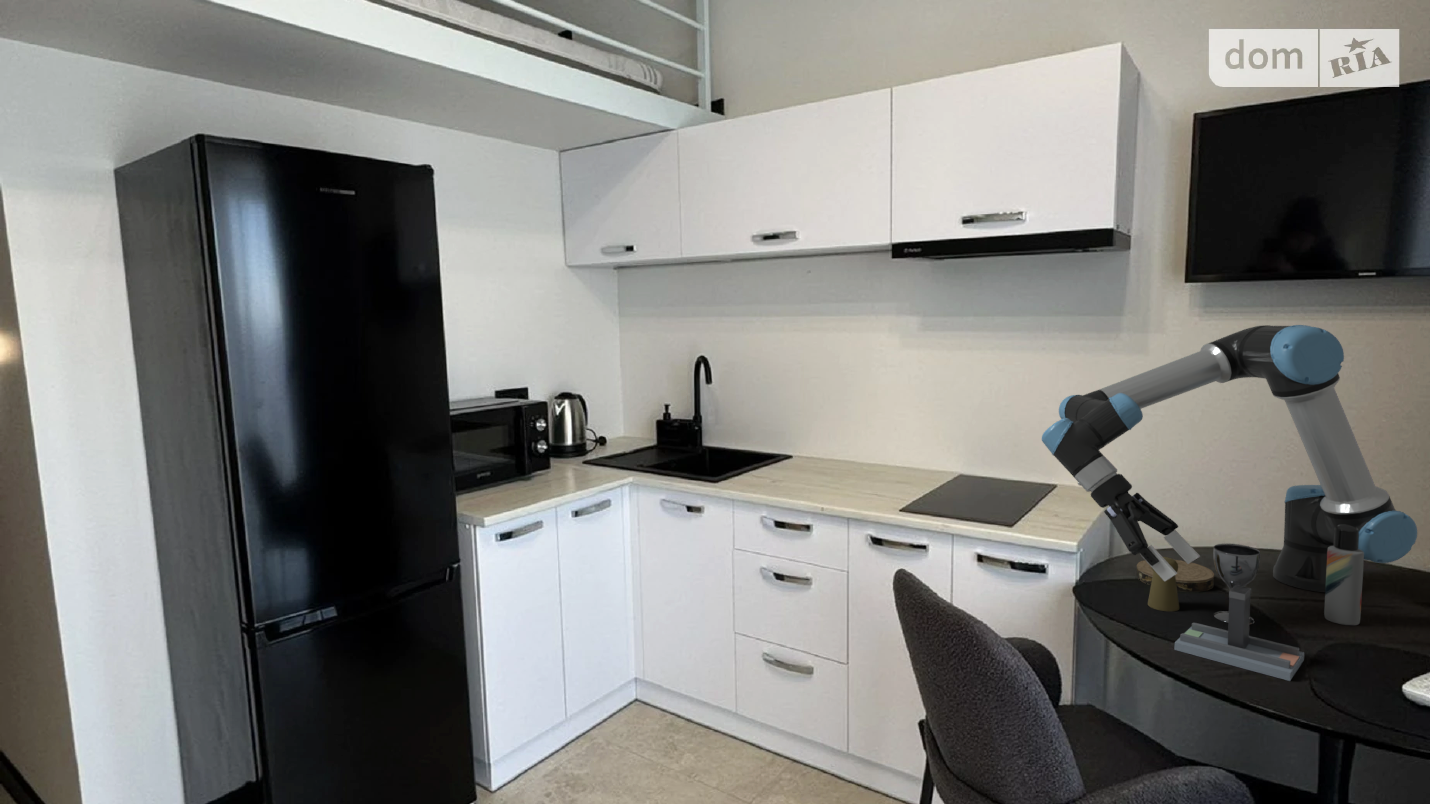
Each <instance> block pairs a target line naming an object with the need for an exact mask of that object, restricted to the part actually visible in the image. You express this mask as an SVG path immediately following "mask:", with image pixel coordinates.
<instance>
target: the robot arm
mask: <svg viewBox="0 0 1430 804" xmlns="http://www.w3.org/2000/svg"><path fill="white" fill-rule="evenodd" d="M1344 359H1345V353H1344V348H1343V346H1342V343H1340V341H1339V339H1338V338H1337V337H1336V335H1334V334H1333V333H1331V332H1330V331H1328V330H1326V329H1323V328H1321V327H1318V326H1317V327H1316V326H1311V325H1304V324H1295V325H1271V324H1269V325H1256V326H1252V327H1248V328H1245V329H1242V330H1240V331H1236V332H1233V333H1231V334H1229V335H1226V336H1224V337H1221V338H1219V339H1216V340H1214V341H1210V342H1207V343H1205V344H1204V345H1202V347H1201V348H1200V350H1199V351H1197V352H1195V353H1192V354H1189V355H1187V356H1184V357H1181V358H1179V359H1176V360H1173V361H1170V362H1167V363H1165V364H1162V365H1160V366H1158V367H1155V368H1152V369H1150V370H1147V371H1144V372H1142V373H1139V374H1137V375H1134V376H1131V377H1128V378H1126V379H1123V380H1120V381H1118V382H1116V383H1113V384H1110V385H1107V386H1105V387H1102V388H1099V389H1096V390H1094V391H1091V392H1089V393H1086V394H1071V395H1068V396H1067V397H1065V398H1063V400H1062V401H1061V402H1060V405H1059V407H1058V416H1059V417H1060V420H1058V421H1056V422H1055V423H1053V424H1052V425H1050V426H1049V427H1047V429H1046V430H1045V431H1044V432H1043V433H1042V435H1041V441H1042V443H1043V445H1044V446H1045V447H1046V448H1047V449H1048V451H1049V452H1050V453H1051V455H1052V456H1053V457H1054V458H1056V460H1057V461H1058V462H1059V463H1060V464H1061V465H1062V466H1063V467H1064V468H1065V469H1066V470H1067V471H1068V472H1069V474H1070V475H1072V478H1074V479H1075V481H1077V485H1078V486H1081V487H1082V488H1083V489H1084V490H1085V491H1086V493H1087V492H1088V493H1090V492H1091V493H1090V497H1091V498H1092V499H1093V501H1095V503H1096V504H1097V505H1098V506H1099V507H1100V508H1102V509H1103V508H1106V509H1104V510H1103V512H1104V514H1105V515H1106V516H1107V518H1108V519H1109V520H1110V521H1111V523H1112V525H1113V527H1114V529H1115V530H1116V531H1117V533H1118V535H1119V537H1120V539H1121V540H1122V542H1123V543H1124V545H1125V547H1126V548H1127V550H1128V552H1129V553H1131V554H1132V556H1136V555H1138V554H1139V555H1140V557H1142V559H1143V560H1146V562H1147V563H1148V564H1149V565H1150V566H1151V567H1152V568H1153V569H1154V570H1155V572H1156V573H1157V574H1158V575H1159V576H1160V577H1161V578H1162V579H1163V580H1164V581H1166V580H1168V579H1170V578H1171V577H1173V576H1174V575H1176V574H1177V572H1176V571H1175V570H1174V569H1173V568H1172V567H1171V566H1170V565H1169V563H1168V562H1167V561H1166V560H1165V559H1164V558H1163V557H1164V556H1162V554H1160V553H1159V551H1158V550H1157V549H1156V548H1155V547H1154V546H1153V545H1152V544H1151V545H1149V544H1148V541H1147V540H1146V536H1145V535H1144V532H1143V531H1142V529H1141V526H1140V523H1139V522H1141V523H1142V524H1144V525H1146V526H1148V527H1149V528H1151V529H1153V530H1155V531H1156V532H1159V534H1161V535H1163V536H1164V537H1163V539H1164V541H1166V542H1167V543H1168V544H1169V546H1171V547H1172V549H1173V550H1174V551H1175V552H1176V553H1177V554H1178V555H1179V556H1180V557H1181V558H1182V559H1183V561H1186V563H1187V564H1189V563H1193V562H1194V561H1195V560H1196V559H1198V558H1200V557H1201V555H1200V554H1199V553H1198V552H1197V551H1196V550H1195V549H1194V548H1193V546H1192V545H1190V543H1188V541H1186V539H1185V538H1184V537H1183V536H1182V535H1181V534H1180V533H1179V532H1178V531H1177V529H1178V528H1179V525H1178V523H1177V522H1175V521H1174V520H1173V519H1171V518H1170V517H1169V516H1168V515H1166V514H1165V513H1164V512H1162V511H1161V510H1160V509H1158V508H1157V507H1155V506H1154V505H1153V504H1152V503H1150V502H1149V501H1147V500H1146V499H1145V498H1144V497H1143V496H1142V495H1141V494H1140V493H1139V492H1135V494H1133V495H1132V494H1130V493H1129V491H1131V490H1132V488H1133V486H1132V484H1131V483H1130V481H1129V480H1128V479H1127V478H1125V476H1124V475H1123V474H1121V473H1117V472H1118V469H1117V468H1116V466H1115V465H1114V464H1113V463H1112V462H1111V461H1110V460H1109V459H1108V458H1107V457H1106V456H1105V455H1104V454H1103V453H1102V452H1101V451H1100V450H1102V449H1103V448H1104V447H1106V446H1108V445H1109V444H1110V443H1112V442H1113V441H1115V440H1116V439H1118V438H1119V437H1120V436H1122V435H1124V434H1125V433H1127V432H1129V431H1131V430H1132V429H1133V428H1134V427H1136V425H1138V424H1139V423H1140V422H1141V421H1142V420H1143V418H1144V417H1143V415H1144V414H1143V411H1142V409H1145V408H1148V407H1149V406H1152V405H1156V404H1157V403H1160V402H1164V401H1167V400H1168V399H1171V398H1174V397H1176V396H1179V395H1182V394H1184V393H1185V394H1186V393H1188V392H1190V391H1193V390H1196V389H1197V388H1198V389H1199V388H1201V387H1204V386H1207V385H1208V384H1209V385H1210V384H1212V383H1215V382H1217V383H1220V384H1224V383H1227V382H1230V381H1233V380H1236V379H1237V380H1238V379H1245V378H1258V379H1265V380H1266V382H1267V385H1268V387H1269V389H1270V392H1271V394H1272V395H1273V397H1274V398H1277V399H1279V400H1283V401H1284V402H1285V405H1286V407H1287V409H1288V412H1289V414H1290V416H1291V418H1292V421H1293V423H1294V425H1295V428H1296V430H1297V433H1298V435H1299V437H1300V439H1301V443H1302V445H1303V447H1304V449H1305V452H1306V454H1307V456H1308V459H1309V460H1310V463H1311V466H1312V468H1313V470H1314V473H1315V475H1316V477H1317V480H1318V483H1319V484H1299V485H1292V486H1290V487H1288V488H1287V490H1286V493H1285V499H1284V524H1283V525H1284V527H1283V530H1284V532H1283V546H1282V549H1281V550H1280V552H1279V555H1278V557H1277V560H1276V562H1275V564H1274V565H1273V569H1272V570H1273V571H1272V573H1273V574H1272V577H1273V578H1274V579H1275V580H1276V581H1278V582H1280V583H1282V584H1284V585H1287V586H1290V587H1294V588H1297V589H1301V590H1306V591H1313V592H1319V593H1325V589H1326V569H1327V551H1328V547H1330V546H1333V544H1334V529H1335V527H1337V525H1340V524H1345V525H1350V526H1353V527H1355V528H1358V529H1359V546H1358V549H1360V550H1362V551H1363V552H1364V560H1365V561H1370V562H1373V563H1379V564H1387V563H1394V562H1396V561H1398V560H1401V559H1402V558H1403V557H1405V556H1406V555H1407V554H1408V553H1410V551H1411V550H1412V547H1413V546H1414V545H1415V544H1416V542H1417V537H1418V527H1417V525H1416V522H1415V520H1414V519H1413V518H1412V517H1411V516H1410V515H1408V514H1407V513H1405V512H1404V511H1400V510H1396V509H1395V506H1394V504H1393V501H1392V499H1391V496H1390V494H1389V492H1388V491H1387V490H1386V489H1384V488H1381V487H1379V486H1376V484H1375V482H1374V480H1373V476H1372V475H1371V473H1370V472H1371V471H1370V470H1369V468H1368V465H1367V463H1366V461H1365V458H1364V455H1363V453H1362V451H1361V448H1360V446H1359V443H1358V442H1357V439H1356V437H1355V434H1354V432H1353V429H1352V428H1351V424H1350V422H1349V420H1348V418H1347V415H1346V413H1345V410H1344V408H1343V405H1342V404H1341V401H1340V398H1339V396H1338V393H1337V392H1336V389H1335V387H1336V385H1337V384H1338V383H1339V381H1340V380H1341V377H1340V374H1339V372H1340V371H1341V369H1342V367H1343V366H1342V365H1341V364H1342V363H1344V362H1345V361H1344Z"/></svg>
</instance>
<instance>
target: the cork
mask: <svg viewBox="0 0 1430 804" xmlns="http://www.w3.org/2000/svg"><path fill="white" fill-rule="evenodd" d="M1162 557H1163V558H1164V559H1165V560H1166V561H1167V562H1168V563H1169V565H1170V566H1171V567H1172V568H1173V569H1174V570H1175V571H1176V572H1177V571H1178V563H1177V562H1176V560H1177V559H1175V558H1172V557H1167V556H1162ZM1151 569H1152V570H1153V577H1152V583H1151V585H1150V588H1149V594H1148V595H1149V596H1148V600H1147V605H1148V606H1149V607H1150V608H1151V609H1154V610H1157V611H1162V612H1178V611H1179V610H1180V601H1179V595H1178V591H1177V585H1176V578H1175V575H1174V576H1173V577H1171V578H1170V579H1168V580H1166V581H1164V580H1163V579H1162V578H1161V577H1160V576H1159V575H1158V574H1157V573H1156V572H1155V570H1154V569H1153V568H1152V567H1151Z"/></svg>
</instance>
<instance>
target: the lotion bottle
mask: <svg viewBox="0 0 1430 804" xmlns="http://www.w3.org/2000/svg"><path fill="white" fill-rule="evenodd" d="M1358 546H1359V529H1358V528H1355V527H1353V526H1350V525H1345V524H1340V525H1337V527H1335V529H1334V544H1333V546H1330V547H1328V551H1327V569H1326V589H1325V592H1324V593H1325V594H1324V609H1323V610H1324V611H1323V613H1324V614H1323V615H1324V618H1325V619H1326V620H1327V621H1330V622H1332V623H1334V624H1339V625H1343V626H1358V625H1359V624H1360V623H1361V617H1362V616H1361V614H1362V612H1361V611H1362V597H1363V596H1362V595H1363V577H1364V552H1363V551H1362V550H1360V549H1358Z"/></svg>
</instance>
